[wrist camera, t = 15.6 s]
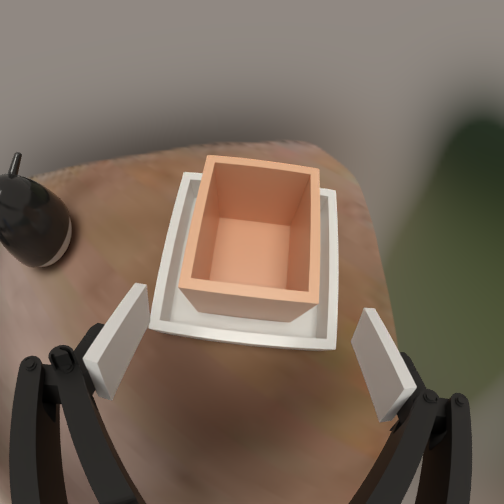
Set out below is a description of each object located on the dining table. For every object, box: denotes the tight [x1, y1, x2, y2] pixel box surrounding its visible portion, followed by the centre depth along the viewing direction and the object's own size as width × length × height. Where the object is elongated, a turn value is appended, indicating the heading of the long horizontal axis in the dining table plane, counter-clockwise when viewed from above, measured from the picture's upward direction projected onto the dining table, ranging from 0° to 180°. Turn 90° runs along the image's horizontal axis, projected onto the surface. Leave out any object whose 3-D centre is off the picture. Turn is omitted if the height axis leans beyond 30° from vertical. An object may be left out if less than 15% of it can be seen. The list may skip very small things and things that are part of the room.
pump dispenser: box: [0, 152, 72, 267], centre depth 25 cm, size 10×10×15 cm
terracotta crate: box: [178, 155, 320, 323], centre depth 26 cm, size 10×12×11 cm
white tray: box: [149, 172, 338, 351], centre depth 30 cm, size 18×18×5 cm
